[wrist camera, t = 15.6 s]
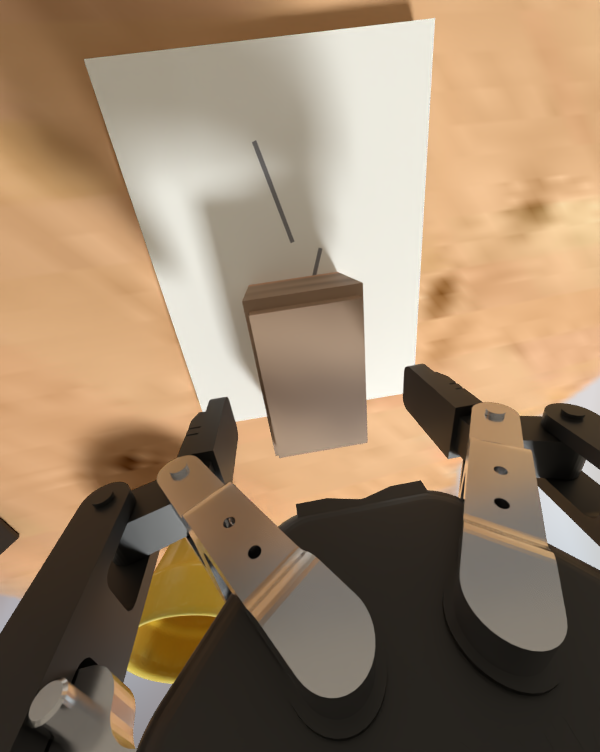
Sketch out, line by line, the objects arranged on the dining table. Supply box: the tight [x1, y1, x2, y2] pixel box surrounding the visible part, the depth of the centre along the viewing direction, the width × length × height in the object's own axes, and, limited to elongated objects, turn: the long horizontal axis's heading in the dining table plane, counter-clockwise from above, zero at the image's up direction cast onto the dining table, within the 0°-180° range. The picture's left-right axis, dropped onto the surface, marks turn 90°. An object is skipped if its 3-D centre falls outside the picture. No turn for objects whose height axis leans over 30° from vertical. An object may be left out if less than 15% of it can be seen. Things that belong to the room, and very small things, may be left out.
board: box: [84, 18, 435, 422], centre depth 18 cm, size 20×16×2 cm
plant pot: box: [127, 538, 225, 684], centre depth 24 cm, size 10×10×10 cm
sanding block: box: [242, 272, 368, 458], centre depth 17 cm, size 9×6×6 cm, turn 8°
